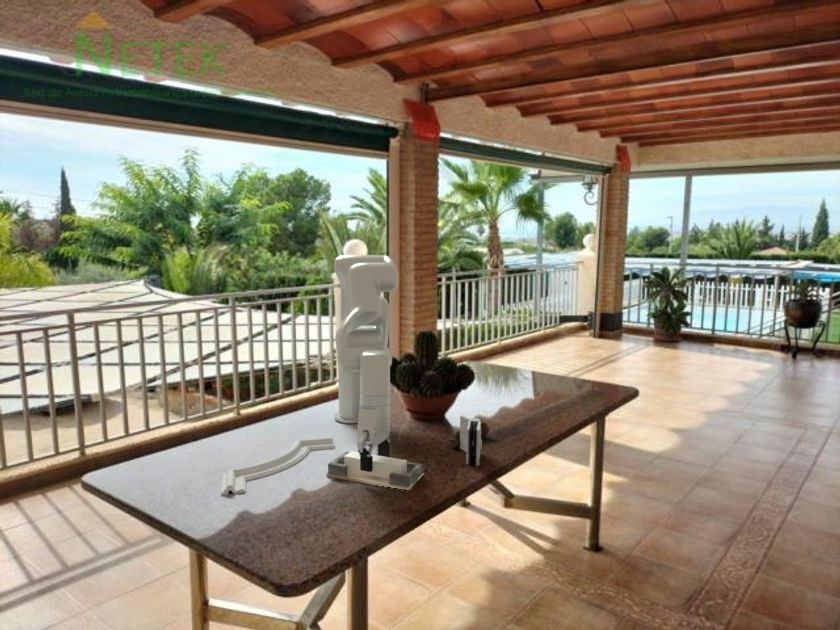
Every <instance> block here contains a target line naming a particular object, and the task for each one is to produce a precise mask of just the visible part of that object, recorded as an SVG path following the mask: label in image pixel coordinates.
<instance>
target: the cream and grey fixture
mask: <svg viewBox="0 0 840 630" xmlns="http://www.w3.org/2000/svg"><path fill="white" fill-rule="evenodd" d="M350 452H351V451H344V452H343V453H342V454H341V455H339V456H338V457H336V458H334V459H333V460H331V461H330V462H328V463H327V473H326V477H329V478H333V479H340V480H345V481H349V482H350V481H351V482H356V483H362V484H367V485H372V486H376V485H377V487H382V486H384V487H383V488H387V487H391V488H390V489H393V488H398V489H406V490H409V489H410V488H411V487H412V486H413V485H414V484H415V483H416V482H417V481H418V480H419V479H420V478H421V477H422V476H423V475H424V476H425V473H423V465H424V464H422V463H416V462H412V461H407V474H406V475H402V474H396V473H390V474H389V479H386V478H380V477H375V476H369V475H363V474H358V473H352V472H347V465H344V456H345V455H347V454H348V453H350ZM398 489H397V490H398ZM411 489H412V488H411ZM411 489H410V490H411ZM410 490H409V491H410Z"/></svg>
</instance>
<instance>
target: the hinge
mask: <svg viewBox="0 0 840 630" xmlns="http://www.w3.org/2000/svg"><path fill="white" fill-rule="evenodd" d="M480 420H481V419H480V418H477V417H474V418H469V417H467V416H464V415H463V414H461V415H460V418H459V430H460V446H459V449H460V450H461V449H462V450H461V451H463V450H464V451H463V452H465V454H466V457H465V458H466V459H465V461H466V462H465V463H466V465H467V464H468V465H471V466H472V460H473V467H476V466H480V461H479V460H481V459H480V458H481V449H482V447H483V444H482V443H483V438H481V421H482V420H481V421H480ZM466 452H467V453H466Z"/></svg>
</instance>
